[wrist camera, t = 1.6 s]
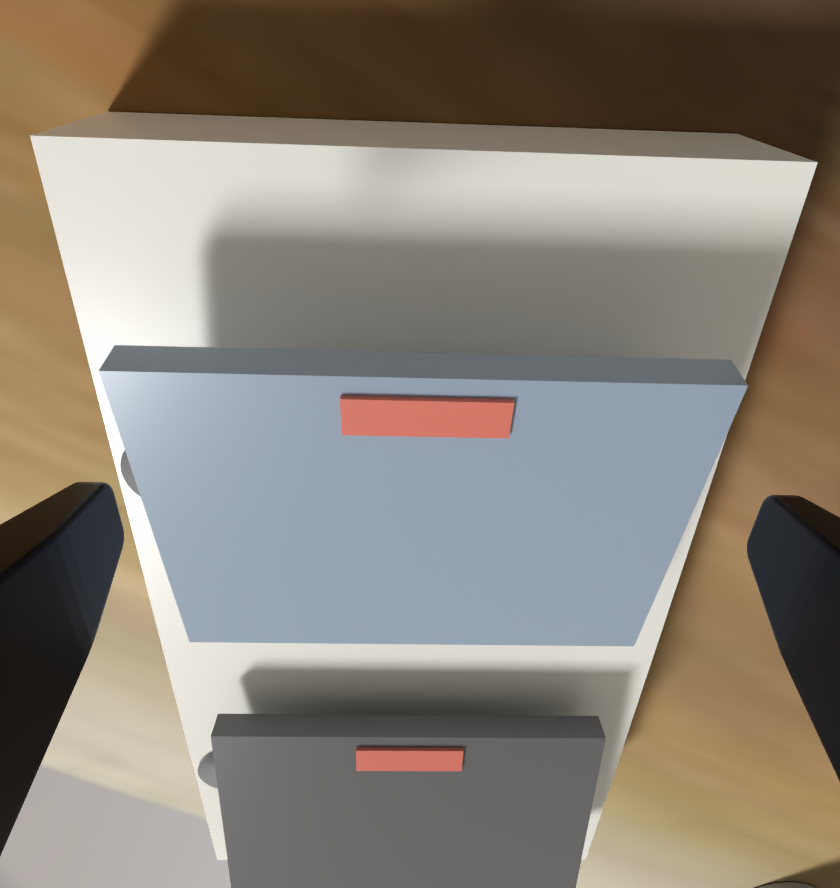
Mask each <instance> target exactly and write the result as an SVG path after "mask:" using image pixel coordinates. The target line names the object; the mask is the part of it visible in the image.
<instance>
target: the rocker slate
mask: <svg viewBox="0 0 840 888" xmlns="http://www.w3.org/2000/svg"><path fill="white" fill-rule="evenodd" d="M99 374H100V377H101V380H102V383H103V386H104V389H105V392H106V395H107V398H108V401H109V404H110V407H111V410H112V413H113V416H114V419H115V422H116V425H117V428H118V431H119V434H120V437H121V440H122V443H123V446H124V448H125V451H126V454H127V457H128V460H129V463H130V466H131V469H132V472H133V475H134V478H135V481H136V484H137V487H138V490H139V493H140V496H141V499H142V502H143V505H144V508H145V511H146V514H147V517H148V520H149V523H150V526H151V529H152V532H153V535H154V538H155V541H156V544H157V547H158V550H159V553H160V556H161V559H162V562H163V565H164V568H165V571H166V574H167V577H168V580H169V583H170V586H171V589H172V592H173V594H174V597H175V600H176V603H177V606H178V609H179V612H180V615H181V618H182V621H183V624H184V627H185V630H186V633H187V636H188V639H189V642H225V643H329V644H433V645H538V646H634V645H635V643H636V641H637V638H638V636H639V634H640V632H641V629H642V627H643V625H644V622H645V620H646V618H647V616H648V613H649V611H650V609H651V606H652V604H653V602H654V600H655V597H656V595H657V593H658V590H659V588H660V586H661V584H662V581H663V579H664V577H665V574H666V572H667V570H668V568H669V565H670V563H671V561H672V558H673V556H674V554H675V552H676V549H677V547H678V545H679V542H680V540H681V538H682V536H683V533H684V531H685V529H686V526H687V524H688V522H689V520H690V517H691V515H692V513H693V510H694V508H695V506H696V504H697V501H698V499H699V497H700V495H701V492H702V490H703V488H704V485H705V483H706V481H707V479H708V476H709V474H710V472H711V469H712V467H713V465H714V463H715V460H716V458H717V456H718V453H719V451H720V449H721V447H722V444H723V442H724V440H725V437H726V435H727V433H728V431H729V428H730V426H731V424H732V421H733V419H734V417H735V415H736V412H737V410H738V408H739V405H740V403H741V401H742V399H743V396H744V394H745V392H746V389H747V387H748V385H747V383H746V382H745V380H744V379H743V377H742V376H741V374H740V372H739V371H738V369H737V368H736V366H735V365H734V363H733V362H732V360H721V359H679V358H637V357H595V356H553V355H511V354H470V353H428V352H386V351H344V350H302V349H260V348H218V347H177V346H135V345H114V347H113V348H112V350H111V352H110V353H109V355H108V356H107V358H106V360H105V361H104V363H103V364H102V366H101V368H100V369H99Z"/></svg>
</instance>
